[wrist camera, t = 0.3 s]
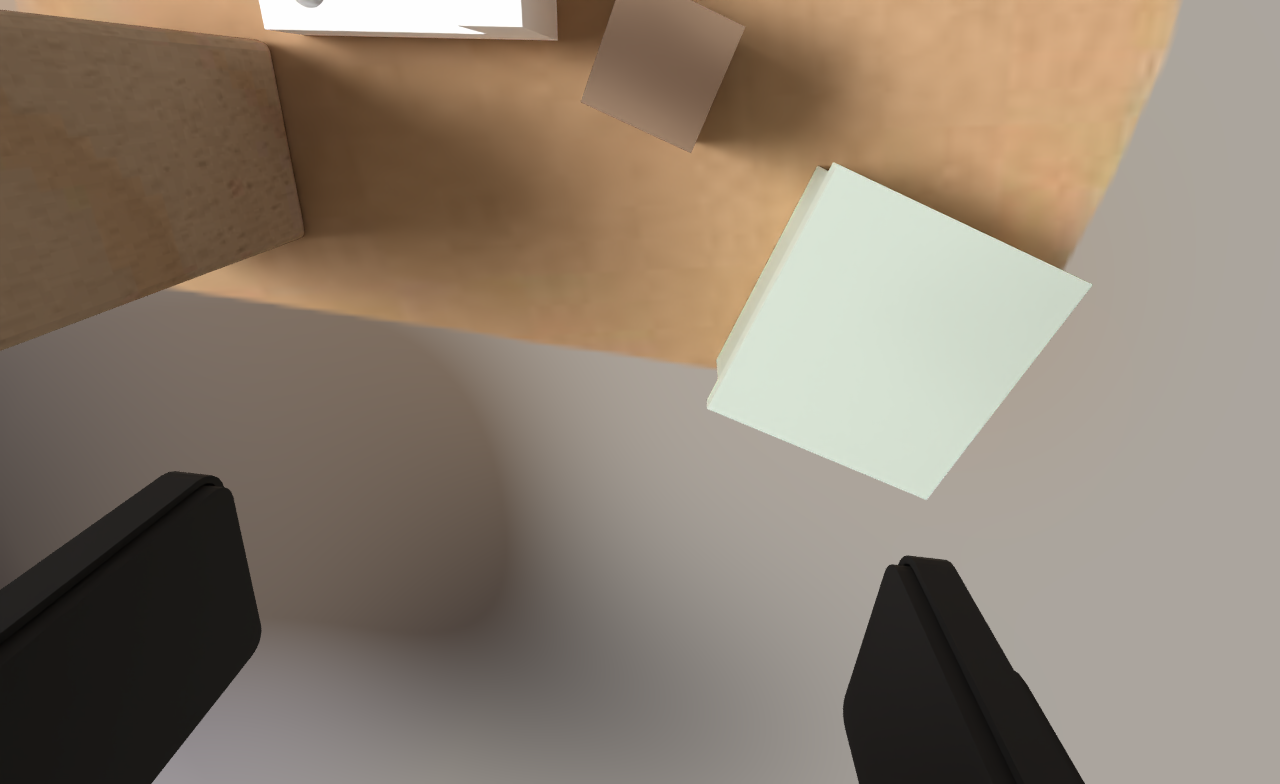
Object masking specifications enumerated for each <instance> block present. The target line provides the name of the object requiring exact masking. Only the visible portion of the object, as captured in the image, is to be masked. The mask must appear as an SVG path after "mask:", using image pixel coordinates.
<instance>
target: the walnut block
mask: <svg viewBox="0 0 1280 784" xmlns="http://www.w3.org/2000/svg"><path fill="white" fill-rule="evenodd" d="M744 29H745V26H743V25H741V24H739V23H737V22H735V21H733V20H731V19H729V18H727V17H724V16H722V15H720V14H718V13H716V12H714V11H712V10H710V9H708V8H706V7H704V6H702V5H700V4H698V3H696V2H694V1H692V0H616V1H615V4H614V6H613V9H612V12H611V15H610V18H609V21H608V24H607V27H606V30H605V33H604V36H603V38H602V41H601V44H600V47H599V50H598V53H597V56H596V59H595V62H594V65H593V68H592V70H591V73H590V76H589V79H588V82H587V85H586V88H585V91H584V94H583V97H582V100H581V103H583V104H586V105H588V106H590V107H592V108H594V109H596V110H599V111H601V112H603V113H605V114H607V115H609V116H612V117H614V118H616V119H618V120H620V121H622V122H625V123H627V124H629V125H631V126H633V127H635V128H638V129H640V130H642V131H644V132H646V133H648V134H651V135H653V136H655V137H657V138H659V139H661V140H664V141H666V142H668V143H670V144H672V145H674V146H677V147H679V148H681V149H683V150H685V151H687V152H690V153H691V152H692V150H693V147H694V145H695V143H696V140H697V138H698V136H699V134H700V131H701V129H702V127H703V124H704V122H705V120H706V117H707V115H708V113H709V110H710V108H711V106H712V103H713V101H714V99H715V96H716V94H717V92H718V89H719V87H720V85H721V82H722V80H723V78H724V75H725V73H726V71H727V69H728V66H729V64H730V62H731V59H732V57H733V55H734V52H735V50H736V48H737V45H738V43H739V41H740V38H741V36H742V34H743V31H744Z"/></svg>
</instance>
